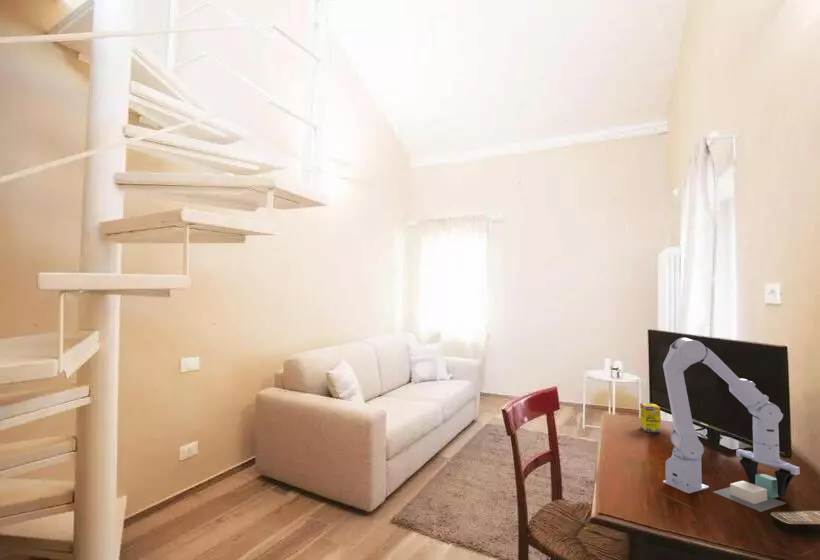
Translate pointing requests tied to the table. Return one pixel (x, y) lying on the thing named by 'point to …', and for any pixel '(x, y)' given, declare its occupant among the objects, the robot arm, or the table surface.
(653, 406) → the supplement box
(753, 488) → the cream slab
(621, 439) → the table surface
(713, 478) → the table surface
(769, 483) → the teal block
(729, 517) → the table surface
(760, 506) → the grey flat square plate
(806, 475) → the table surface
